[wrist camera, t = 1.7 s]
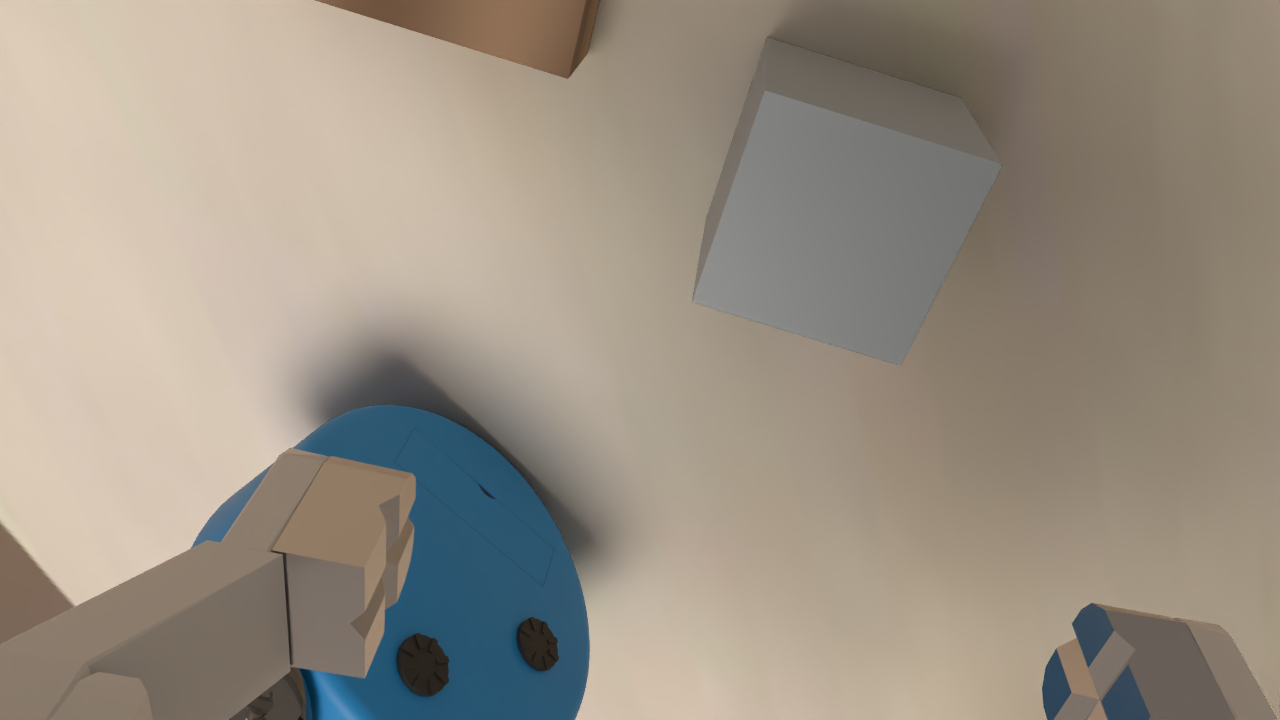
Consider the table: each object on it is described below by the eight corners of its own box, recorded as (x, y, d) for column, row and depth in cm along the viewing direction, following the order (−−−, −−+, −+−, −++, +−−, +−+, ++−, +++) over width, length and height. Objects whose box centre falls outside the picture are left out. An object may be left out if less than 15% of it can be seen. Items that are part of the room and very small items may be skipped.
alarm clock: (290, 412, 37) (29, 738, 24) (390, 331, 34) (158, 646, 21) (518, 613, 41) (400, 982, 28) (623, 554, 38) (546, 930, 25)
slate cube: (960, 97, 27) (1002, 164, 22) (880, 271, 31) (900, 365, 25) (767, 36, 27) (764, 90, 22) (705, 218, 30) (691, 302, 25)
